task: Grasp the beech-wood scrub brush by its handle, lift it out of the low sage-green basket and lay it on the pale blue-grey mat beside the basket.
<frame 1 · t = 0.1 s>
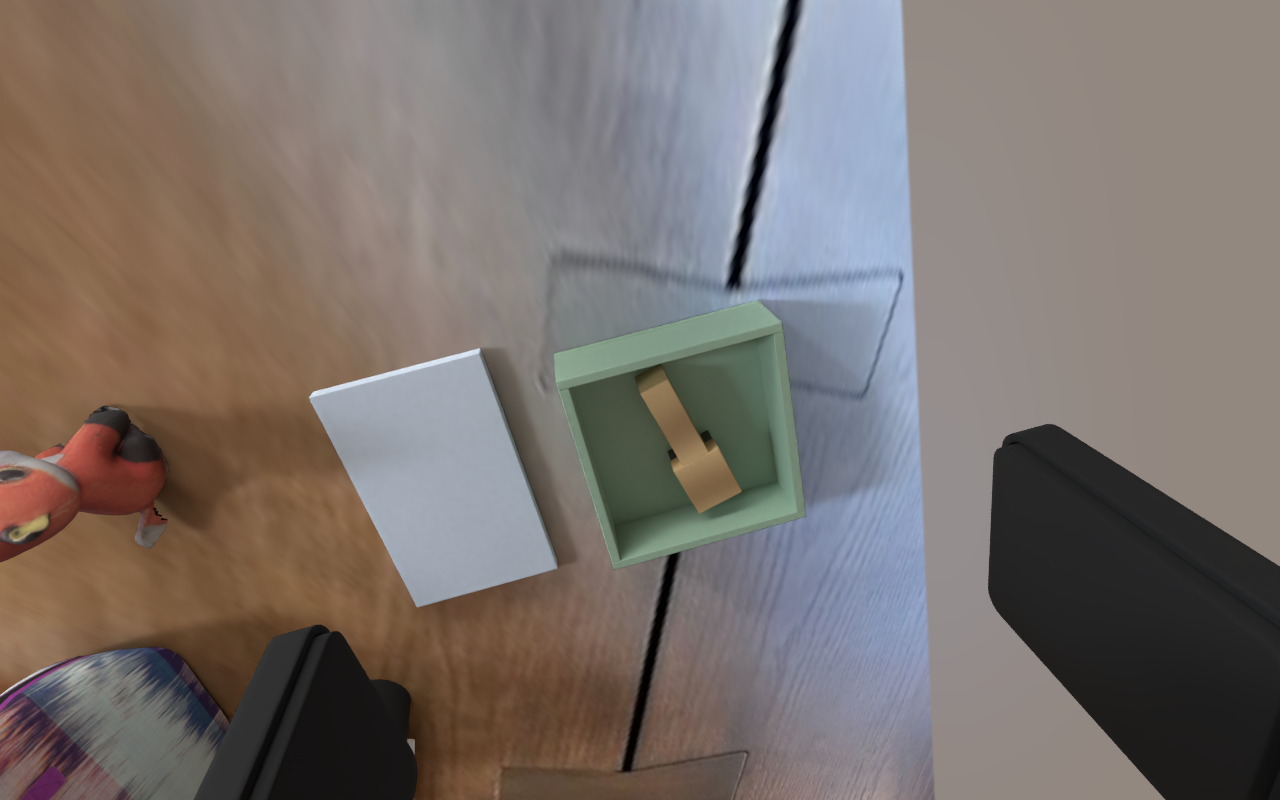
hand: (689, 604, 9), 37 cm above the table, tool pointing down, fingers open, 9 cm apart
brush: (679, 426, 50), point 1 cm above the table, touching basket
cup: (379, 699, 58), on the table, touching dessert
basket: (677, 422, 50), on the table
mat: (446, 484, 49), on the table
handbag: (150, 701, 54), on the table
stuffed fox: (124, 467, 45), on the table
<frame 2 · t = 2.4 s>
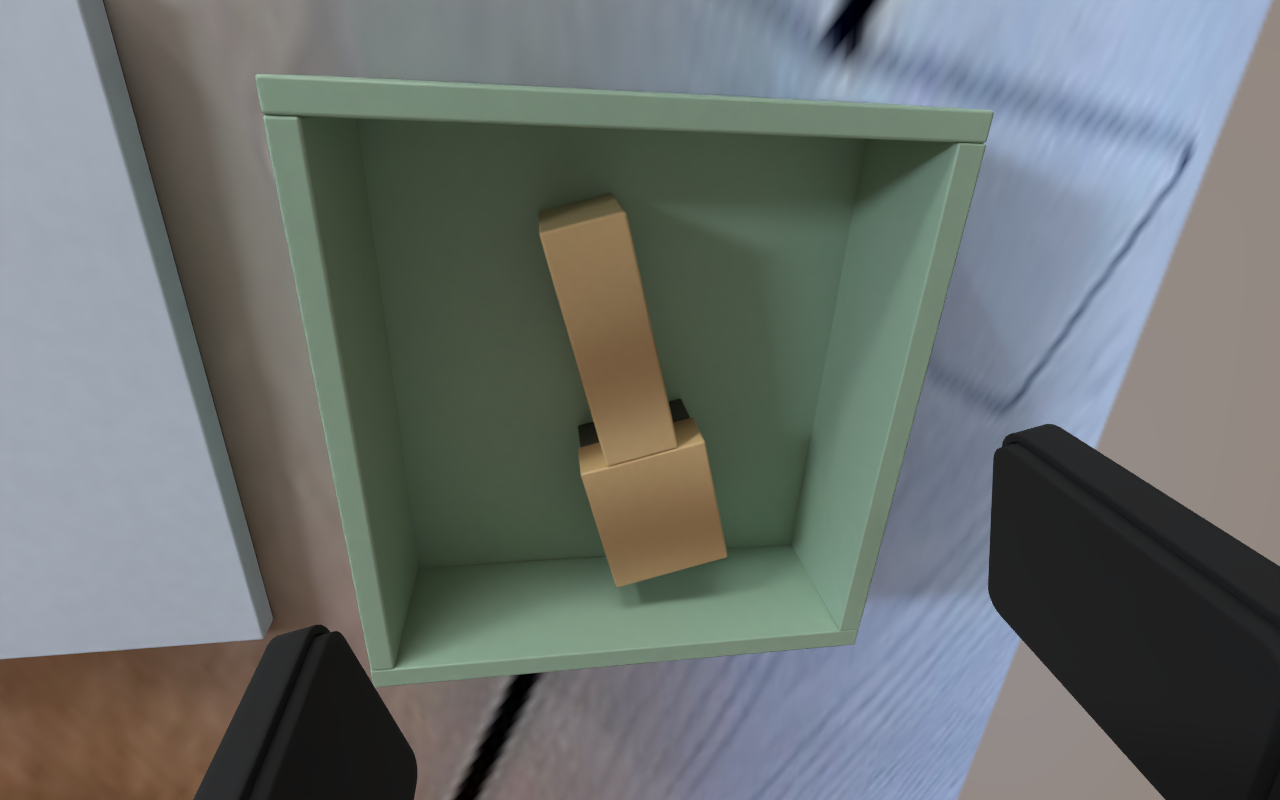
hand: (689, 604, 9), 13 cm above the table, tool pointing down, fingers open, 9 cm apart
brush: (619, 371, 21), point 1 cm above the table, touching basket
basket: (617, 364, 21), on the table
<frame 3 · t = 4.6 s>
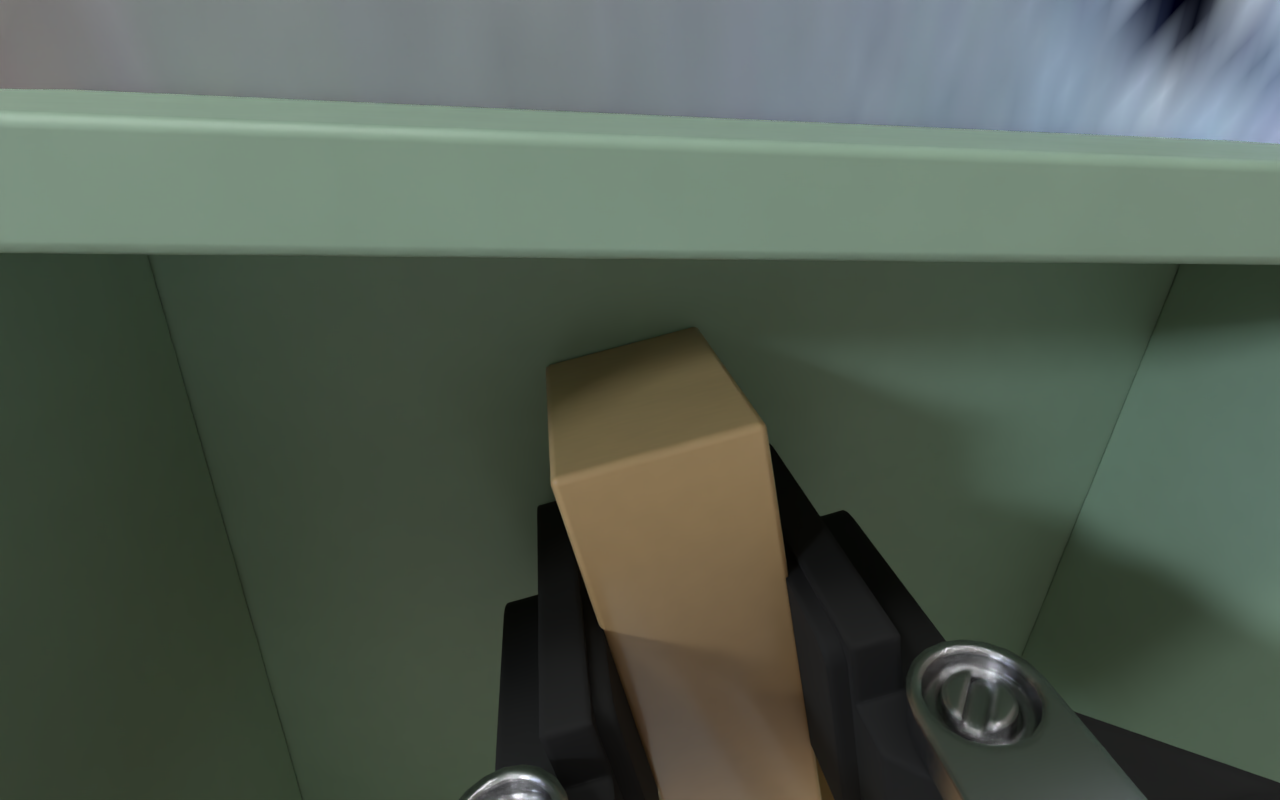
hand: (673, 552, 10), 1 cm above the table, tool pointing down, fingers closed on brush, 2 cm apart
brush: (691, 625, 11), point 1 cm above the table, touching basket, gripper
basket: (684, 601, 12), on the table
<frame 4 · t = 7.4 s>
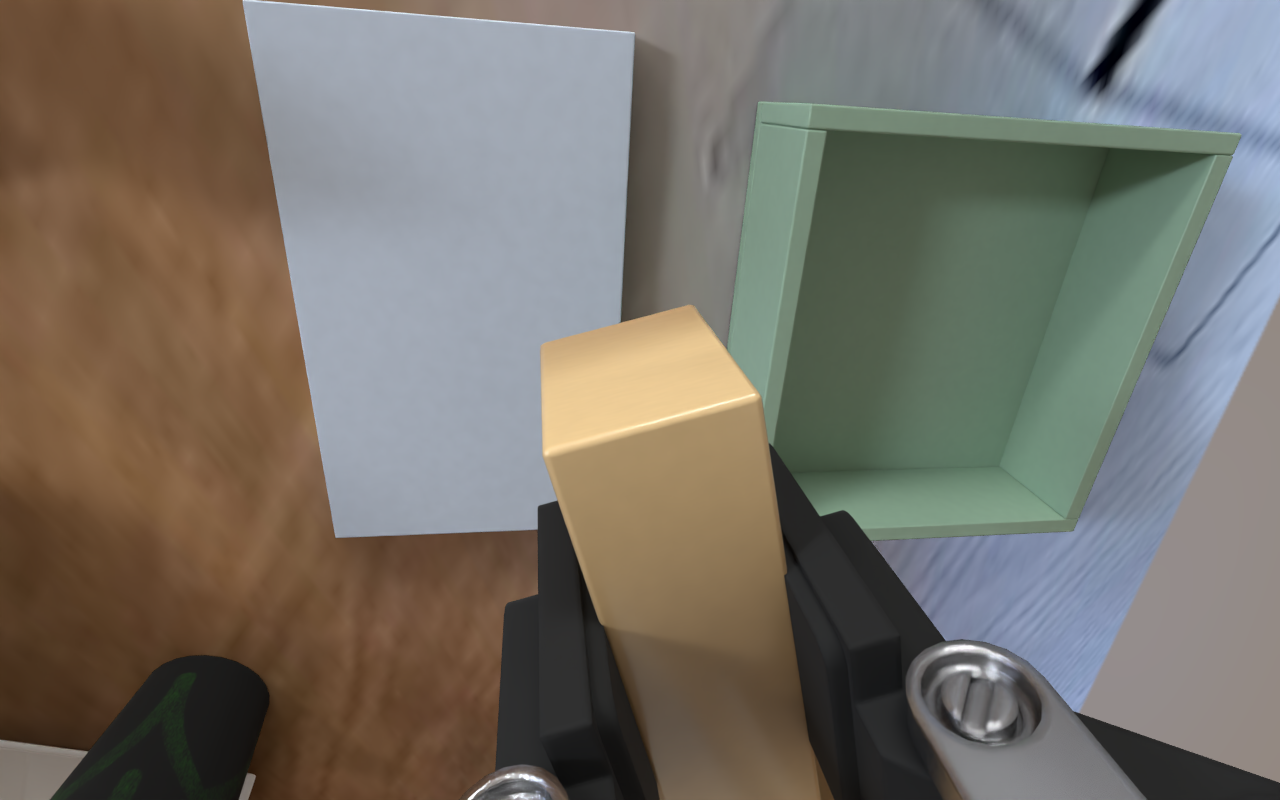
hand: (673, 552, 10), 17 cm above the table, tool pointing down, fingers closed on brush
brush: (688, 610, 11), point 17 cm above the table, touching gripper
cup: (209, 693, 32), on the table, touching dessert
basket: (898, 317, 28), on the table
mat: (467, 311, 25), on the table
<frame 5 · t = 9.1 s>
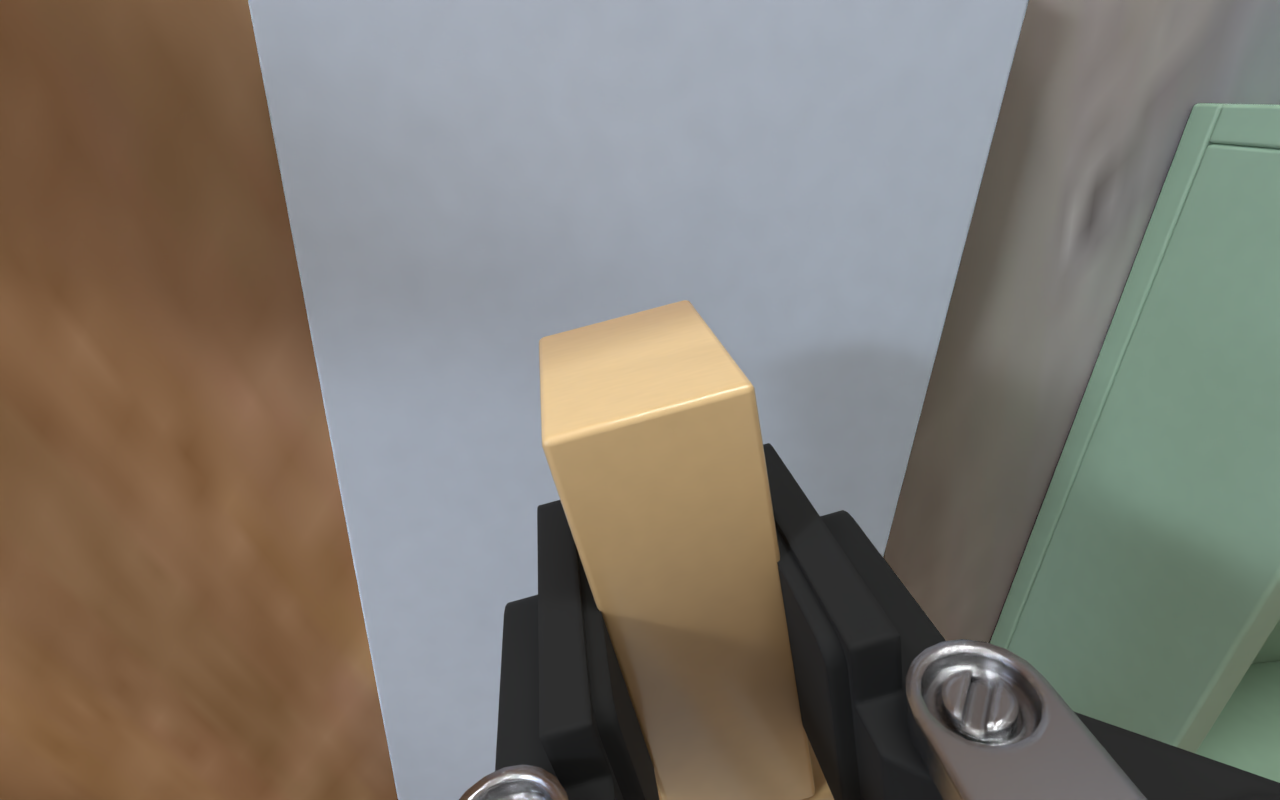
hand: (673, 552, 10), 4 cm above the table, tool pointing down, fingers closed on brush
brush: (685, 601, 11), point 4 cm above the table, touching gripper
mat: (634, 478, 15), on the table
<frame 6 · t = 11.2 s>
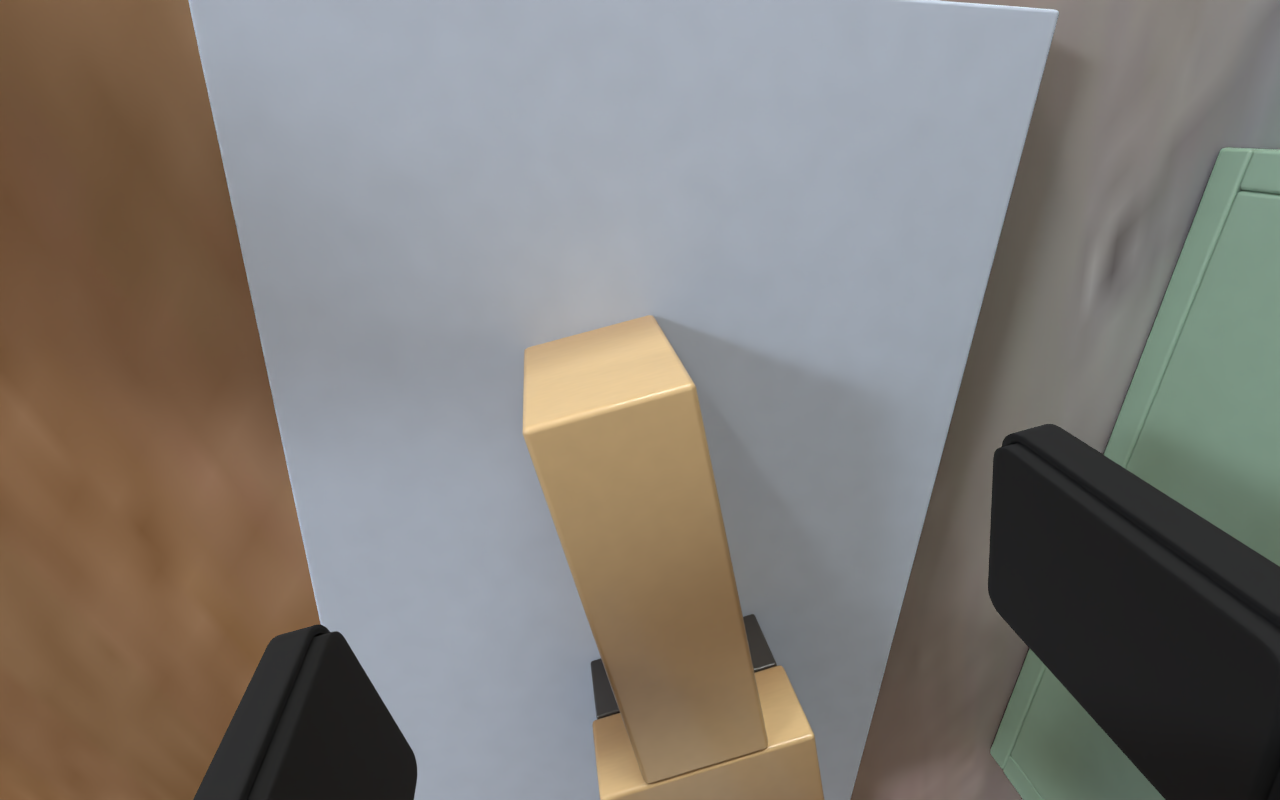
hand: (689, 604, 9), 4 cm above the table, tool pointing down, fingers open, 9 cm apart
brush: (657, 582, 13), point 1 cm above the table, touching mat
mat: (630, 544, 14), on the table
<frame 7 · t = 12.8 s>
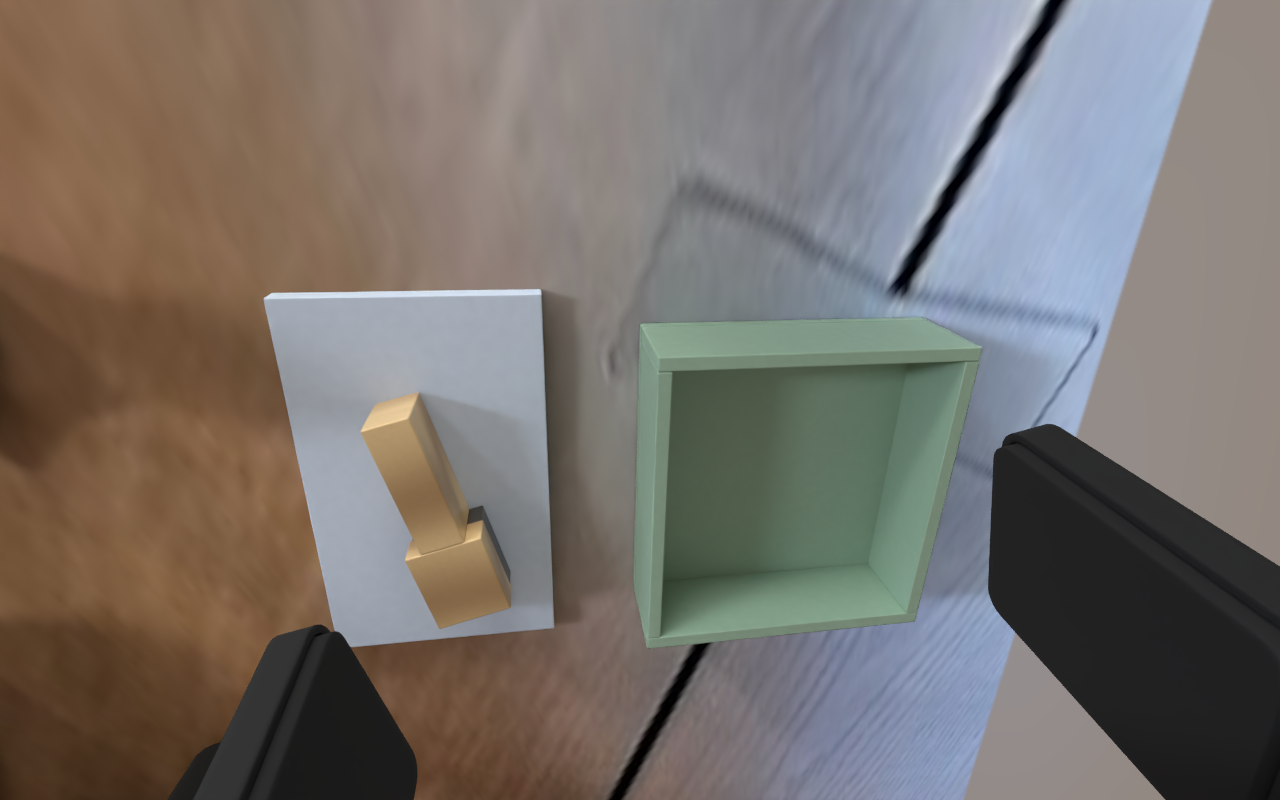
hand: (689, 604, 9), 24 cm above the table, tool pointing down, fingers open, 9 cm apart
brush: (439, 491, 33), point 1 cm above the table, touching mat
cup: (241, 769, 40), on the table, touching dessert
basket: (769, 458, 36), on the table
mat: (433, 478, 34), on the table
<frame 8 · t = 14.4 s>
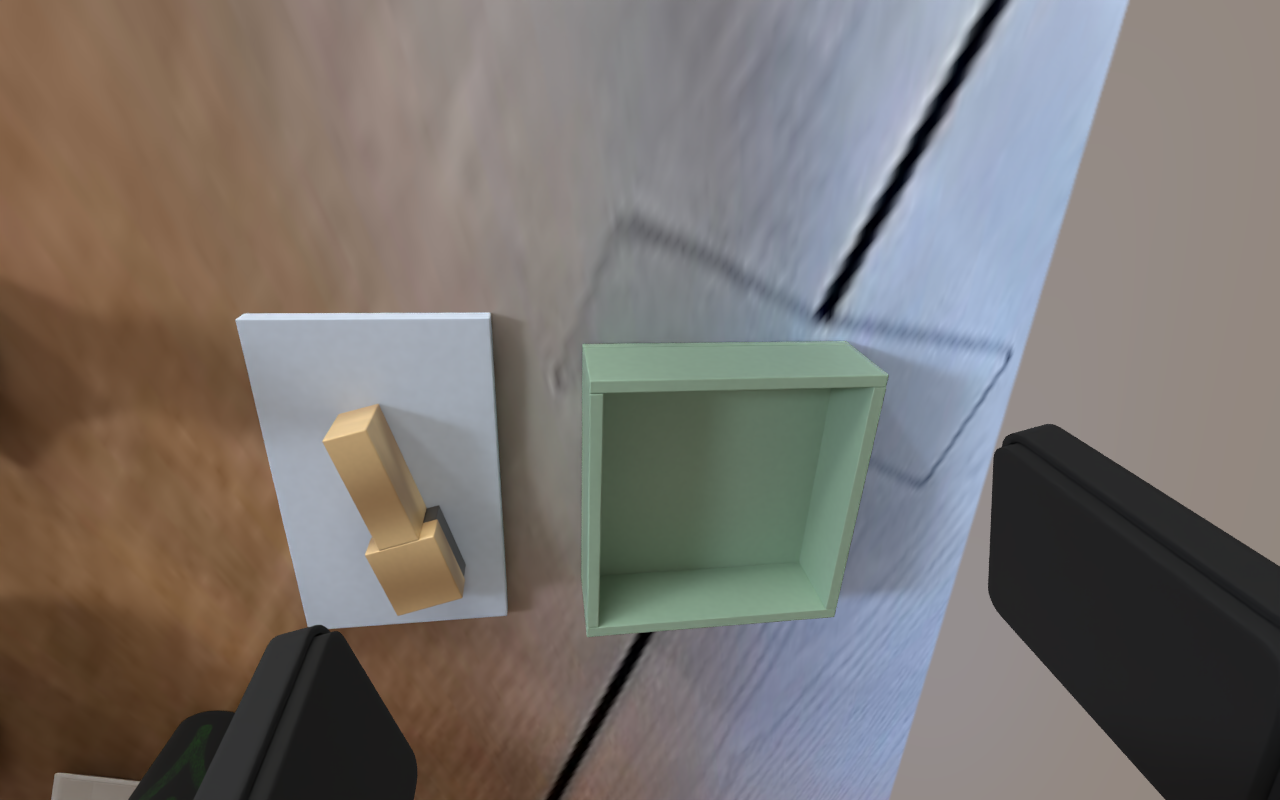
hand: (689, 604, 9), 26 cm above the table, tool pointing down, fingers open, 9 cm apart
brush: (398, 491, 36), point 1 cm above the table, touching mat
cup: (222, 736, 43), on the table, touching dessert
basket: (705, 466, 40), on the table
mat: (394, 479, 37), on the table
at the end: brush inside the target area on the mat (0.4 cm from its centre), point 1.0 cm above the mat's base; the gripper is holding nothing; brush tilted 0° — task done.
